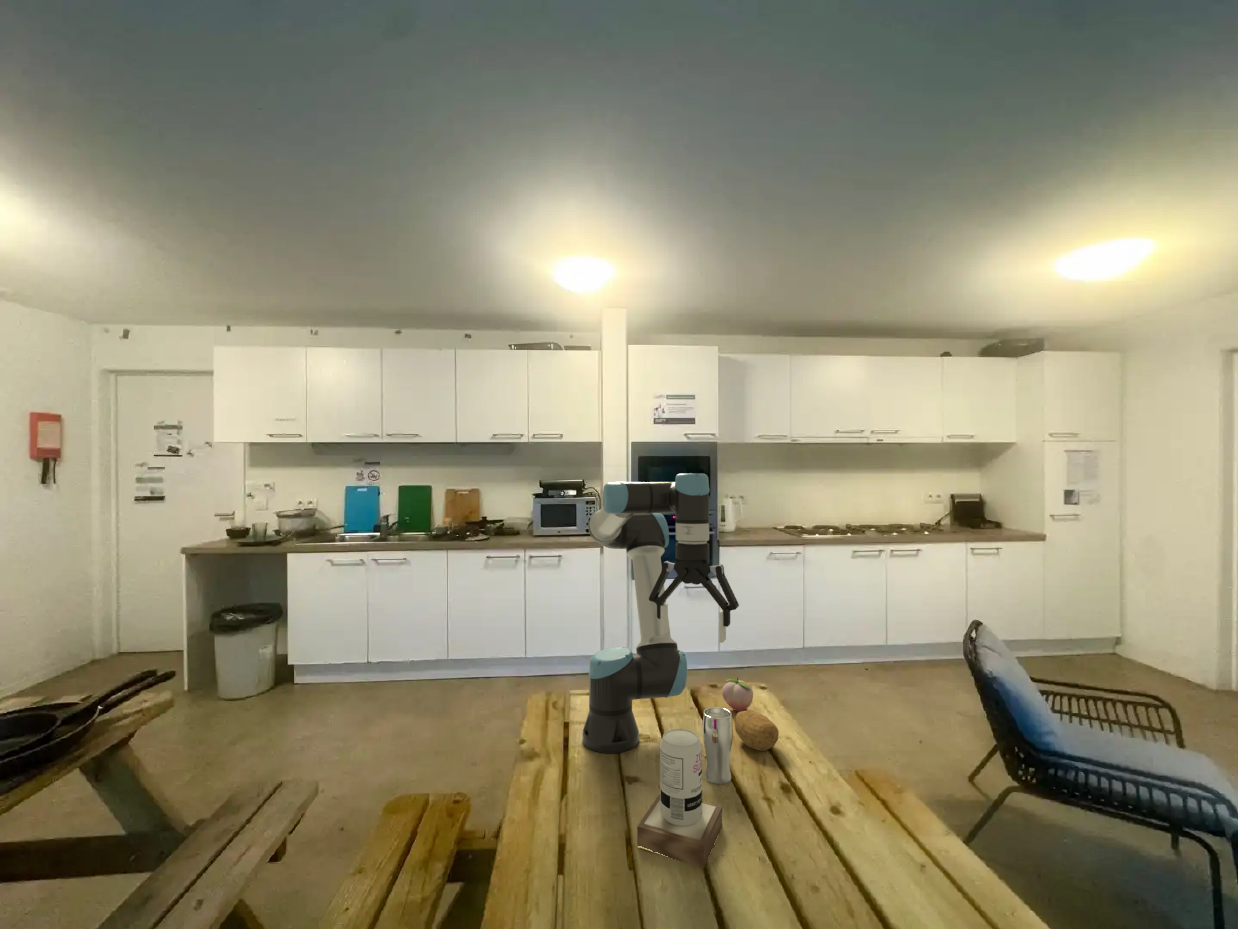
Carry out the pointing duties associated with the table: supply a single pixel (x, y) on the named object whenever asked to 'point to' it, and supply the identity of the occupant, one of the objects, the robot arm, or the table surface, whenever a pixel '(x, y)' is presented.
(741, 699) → the decorative fruit
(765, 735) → the potato
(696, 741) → the supplement can
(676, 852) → the base
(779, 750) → the table surface
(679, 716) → the table surface
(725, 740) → the metal tumbler
